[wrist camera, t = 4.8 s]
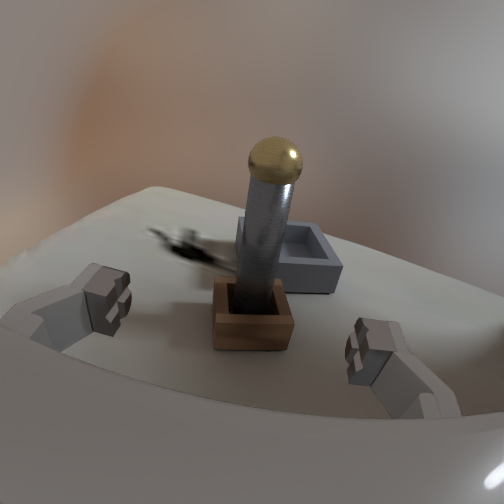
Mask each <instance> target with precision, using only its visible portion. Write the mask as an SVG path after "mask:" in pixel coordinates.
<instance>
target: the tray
mask: <svg viewBox="0 0 504 504" xmlns="http://www.w3.org/2000/svg"><path fill="white" fill-rule="evenodd" d="M244 218H245V217H239V219H238V227H237V235H236V248H237V256H238V261H239V254H240V247H241V240H242V232H243V225H244ZM342 268H343V265H342V263H341V262H340V260H339V258H338V257H337V255H336V254H335V252H334V250H333V249H332V247H331V246H330V244H329V242H328V241H327V239H326V238H325V236H324V235H323V233H322V231H321V230H320V228H319V227H318V225H317V224H316V223H307V222H297V221H287V225H286V229H285V234H284V239H283V244H282V248H281V253H280V258H279V263H278V267H277V272H276V276H275V279H281V282H282V285H283V288H284V292H307V293H334V292H335V289H336V286H337V283H338V280H339V277H340V274H341V271H342Z"/></svg>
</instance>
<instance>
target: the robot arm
mask: <svg viewBox="0 0 504 504" xmlns="http://www.w3.org/2000/svg"><path fill="white" fill-rule="evenodd" d="M129 284H130V274H129V273H128V272H125V271H121V270H118V269H114V268H110V267H106V266H102V265H99V264H95V263H92V264H89V266H88V267H87V268H86V269H85V270H84V271H83V272H82V273H81V274H80V275H79V276H78V277H77V278H76V279H75V280H74V281H73V282H72V283H71V285H70V286H66V285H65V286H63V287H60V288H57V289H55V290H52V291H49V292H46V293H44V294H41V295H38V296H36V297H33V298H30V299H28V300H25V301H22V302H20V303H17V304H15V305H14V306H13V307H12V308H11V309H10V310H9V311H8V312H7V313H6V314H5V315H4V316H3V317H2V319H1V320H0V504H504V411H502V412H495V413H487V414H479V415H470V416H462V415H461V412H460V408H459V405H458V403H457V400H456V397H455V394H454V392H453V391H452V390H451V389H450V388H449V387H448V386H447V385H446V384H445V383H444V382H443V381H442V380H441V379H440V378H439V377H437V376H436V375H435V374H434V373H433V372H432V371H431V370H430V369H429V368H428V367H427V366H426V365H425V364H424V363H423V362H422V361H420V360H419V359H418V358H417V357H416V356H415V355H414V354H412V353H409V350H408V347H407V344H406V341H405V338H404V336H403V333H402V330H401V327H400V325H399V323H398V322H393V321H381V320H374V319H367V318H360V317H359V318H358V320H357V321H356V323H355V325H354V327H355V332H354V333H352V334H351V335H350V336H349V338H348V340H347V344H346V348H345V358H346V361H347V362H348V363H349V364H350V365H349V367H348V369H347V374H348V381H349V384H353V385H362V386H371V387H370V388H371V389H372V391H373V392H374V393H375V395H376V396H377V398H378V399H379V400H380V402H381V403H382V405H383V406H384V407H385V409H386V410H387V412H388V413H389V414H390V416H391V417H392V419H362V418H343V417H329V416H317V415H307V414H298V413H290V412H282V411H275V410H268V409H262V408H256V407H250V406H244V405H238V404H233V403H228V402H223V401H218V400H213V399H209V398H204V397H200V396H195V395H191V394H187V393H183V392H179V391H175V390H171V389H167V388H164V387H160V386H156V385H153V384H149V383H146V382H143V381H139V380H136V379H133V378H130V377H126V376H123V375H120V374H117V373H114V372H111V371H108V370H106V369H103V368H100V367H97V366H94V365H92V364H89V363H86V362H84V361H81V360H78V359H76V358H73V357H71V356H68V355H66V354H63V353H61V351H63V350H64V349H66V348H68V347H69V346H71V345H73V344H74V343H76V342H77V341H79V340H81V339H82V338H84V337H86V336H87V335H89V334H91V333H92V332H93V331H94V332H98V333H101V334H104V335H108V336H111V337H113V336H114V335H115V333H116V331H117V330H118V328H119V327H120V325H121V324H120V319H122V318H124V317H126V315H127V314H128V312H129V309H130V306H131V300H132V295H131V291H130V290H129V288H128V287H127V286H128V285H129Z"/></svg>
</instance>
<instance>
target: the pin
mask: <svg viewBox="0 0 504 504" xmlns="http://www.w3.org/2000/svg"><path fill="white" fill-rule="evenodd" d="M248 167H249V171H250V174H251V177H250V183H249V191H248V197H247V205H246V211H245V218H244V225H243V232H242V240H241V247H240V254H239V261H238V269H237V276H236V283H235V291H234V298H233V306H232V313H231V314H244V315H267V312H268V308H269V304H270V299H271V295H272V290H273V286H274V281H275V276H276V272H277V267H278V263H279V258H280V253H281V248H282V244H283V239H284V234H285V229H286V225H287V220H288V215H289V210H290V205H291V200H292V195H293V190H294V184H295V182H296V181H297V179H298V178H299V176H300V174H301V171H302V167H303V160H302V155H301V153H300V151H299V149H298V148H297V146H296V145H295V144H294V143H293V142H291V141H290V140H288V139H286V138H283V137H276V136H273V137H268V138H265V139H262V140H261V141H259V142H258V143H257V144H256V145H255V146H254V147H253V149H252V150H251V152H250V155H249V159H248Z"/></svg>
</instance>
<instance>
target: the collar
mask: <svg viewBox="0 0 504 504" xmlns="http://www.w3.org/2000/svg"><path fill="white" fill-rule="evenodd" d="M235 283H236V277H230V276H215V279H214V291H213V339H214V349H228V350H287V347H288V344H289V340H290V337H291V334H292V331H293V328H294V321H293V317H292V314H291V311H290V308H289V304H288V301H287V298H286V295H285V292H284V288H283V285H282V282H281V279H275V281H274V286H273V290H272V295H271V299H270V304H269V308H268V312H267V315H244V314H229V309H232V306H233V298H234V291H235Z"/></svg>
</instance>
